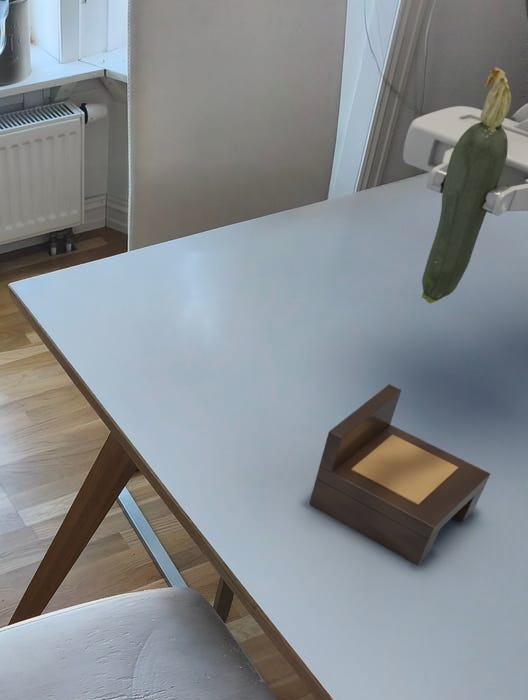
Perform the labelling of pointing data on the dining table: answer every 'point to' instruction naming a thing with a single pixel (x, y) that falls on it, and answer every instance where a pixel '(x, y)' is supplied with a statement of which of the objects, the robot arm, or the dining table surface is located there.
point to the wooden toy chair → (392, 481)
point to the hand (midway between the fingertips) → (463, 193)
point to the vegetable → (468, 192)
